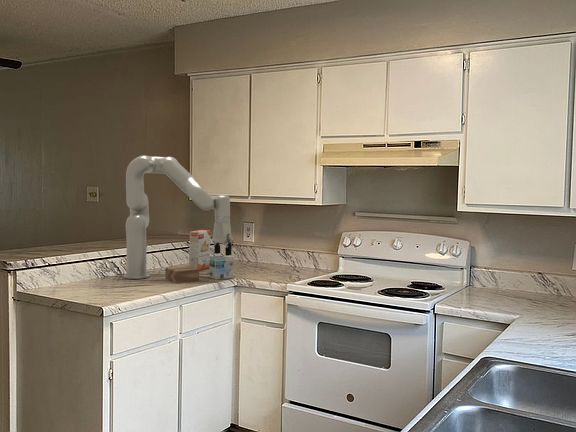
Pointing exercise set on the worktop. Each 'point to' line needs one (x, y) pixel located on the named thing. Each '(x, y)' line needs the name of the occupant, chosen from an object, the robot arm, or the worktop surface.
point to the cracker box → (199, 249)
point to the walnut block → (182, 274)
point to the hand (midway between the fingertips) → (222, 254)
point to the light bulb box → (221, 267)
